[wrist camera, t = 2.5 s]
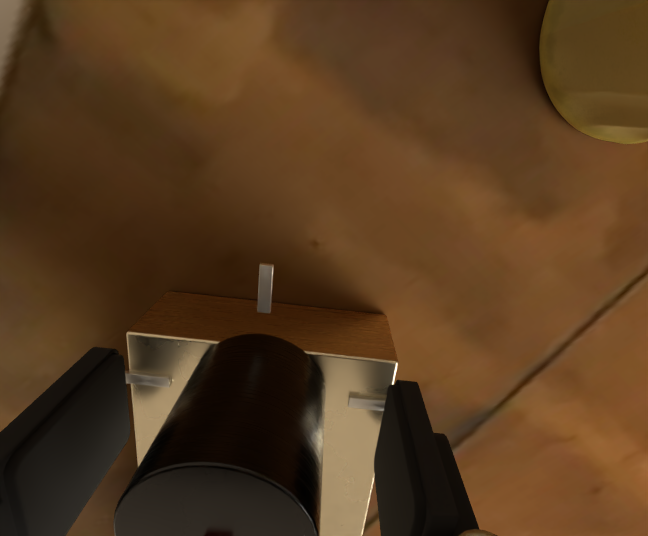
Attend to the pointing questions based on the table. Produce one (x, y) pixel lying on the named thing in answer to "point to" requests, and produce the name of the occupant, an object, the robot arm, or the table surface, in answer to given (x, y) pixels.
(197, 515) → the knob
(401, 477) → the robot arm
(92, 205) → the table surface
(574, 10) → the vase
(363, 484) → the panel
